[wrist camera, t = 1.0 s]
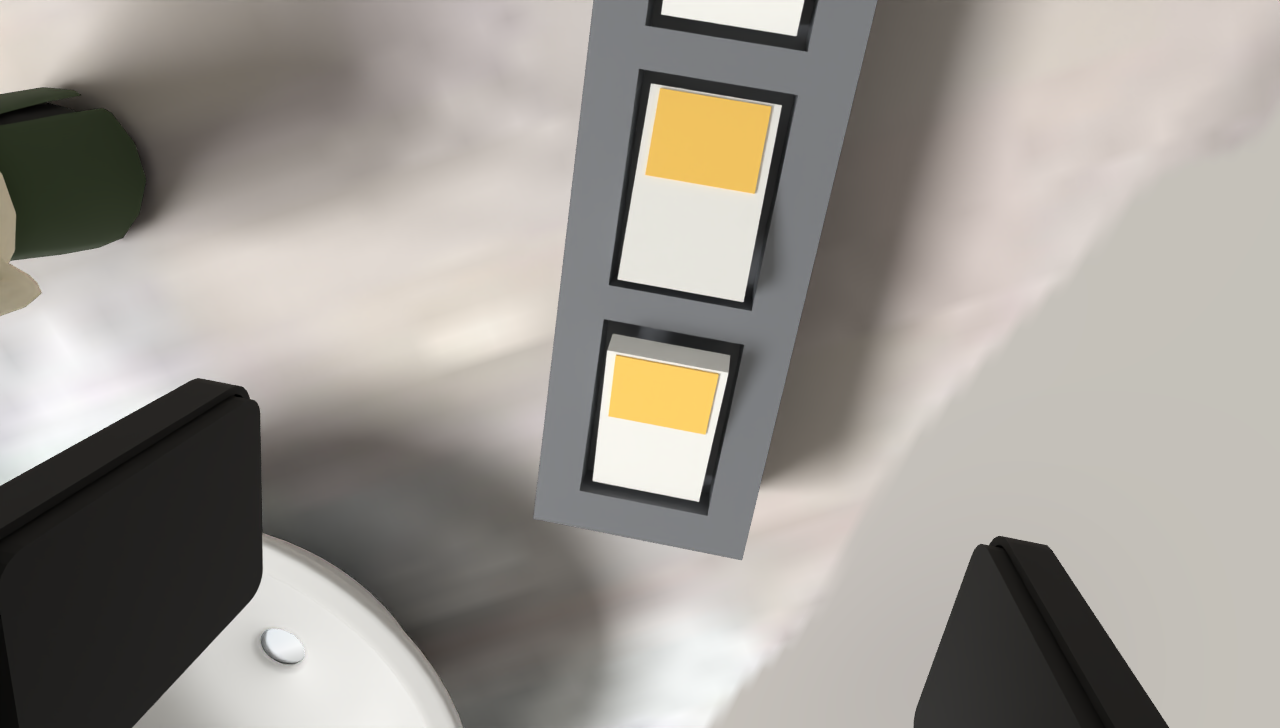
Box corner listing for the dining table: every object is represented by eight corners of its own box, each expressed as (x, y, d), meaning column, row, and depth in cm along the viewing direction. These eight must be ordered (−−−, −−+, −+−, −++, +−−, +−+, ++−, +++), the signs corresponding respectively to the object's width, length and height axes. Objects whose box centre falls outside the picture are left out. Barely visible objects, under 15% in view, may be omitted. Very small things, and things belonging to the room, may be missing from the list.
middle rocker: (652, 90, 25) (650, 83, 24) (778, 111, 25) (782, 104, 24) (621, 278, 26) (617, 279, 25) (742, 300, 26) (743, 302, 24)
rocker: (612, 333, 26) (607, 351, 26) (730, 355, 26) (728, 374, 25) (597, 462, 30) (592, 482, 29) (701, 482, 30) (698, 503, 29)
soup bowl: (396, 875, 46) (344, 999, 40) (18, 677, 44) (-99, 778, 38) (599, 603, 37) (571, 711, 31) (137, 339, 35) (9, 399, 29)
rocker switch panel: (684, -507, 23) (669, -650, 18) (965, -471, 22) (1024, -610, 17) (561, 456, 34) (533, 518, 30) (742, 491, 34) (742, 560, 29)
